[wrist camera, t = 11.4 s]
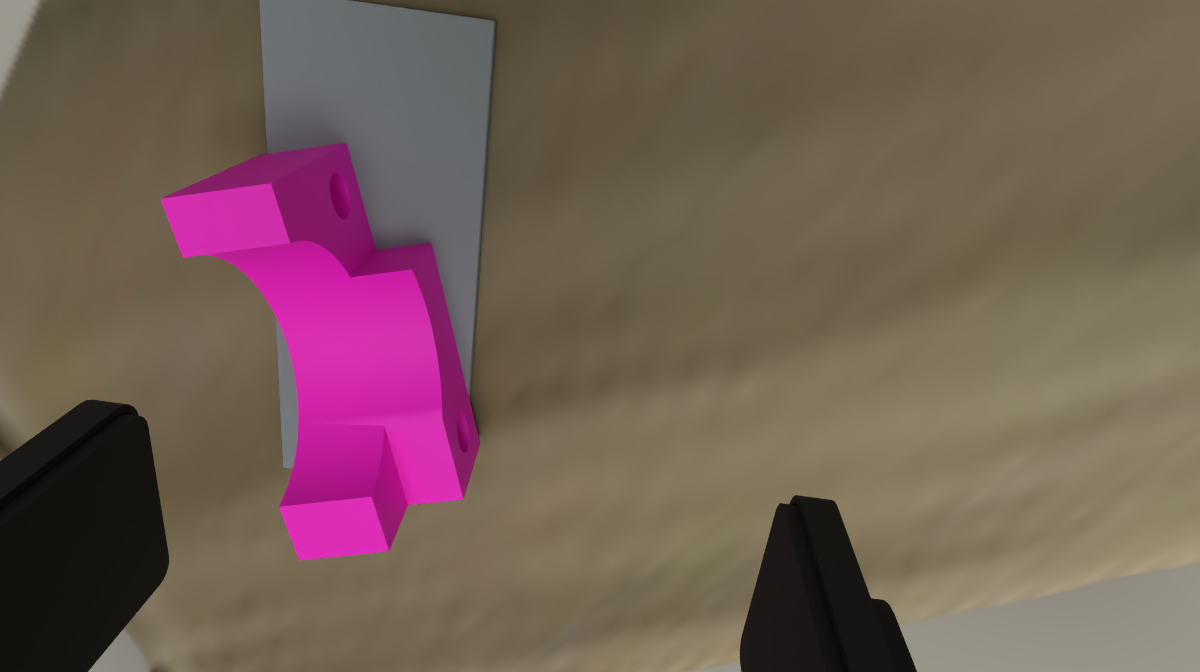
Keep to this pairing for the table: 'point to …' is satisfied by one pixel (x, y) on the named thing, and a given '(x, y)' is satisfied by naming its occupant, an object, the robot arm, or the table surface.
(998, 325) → the table surface
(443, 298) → the toy block
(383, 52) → the mat
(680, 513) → the table surface
